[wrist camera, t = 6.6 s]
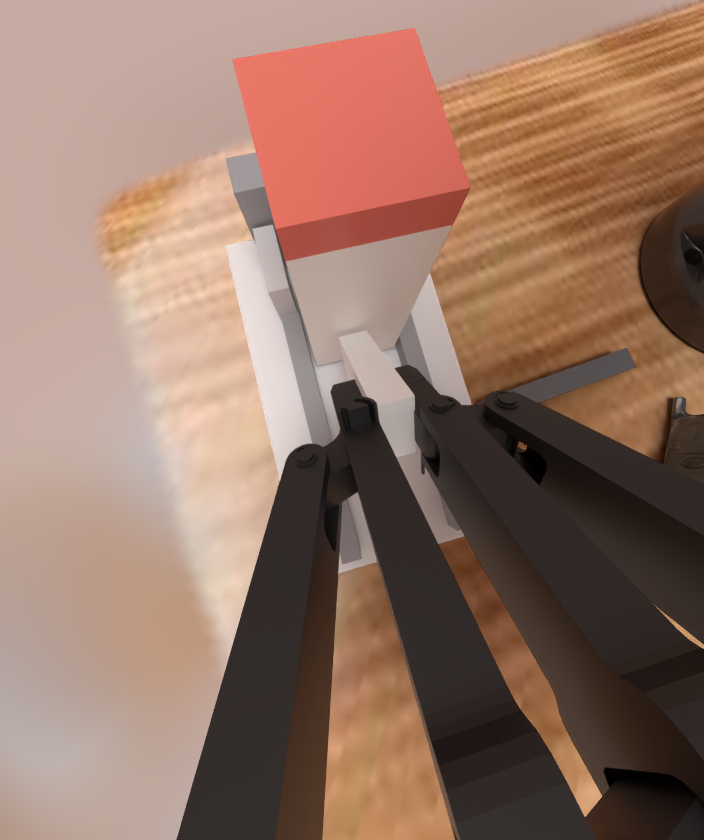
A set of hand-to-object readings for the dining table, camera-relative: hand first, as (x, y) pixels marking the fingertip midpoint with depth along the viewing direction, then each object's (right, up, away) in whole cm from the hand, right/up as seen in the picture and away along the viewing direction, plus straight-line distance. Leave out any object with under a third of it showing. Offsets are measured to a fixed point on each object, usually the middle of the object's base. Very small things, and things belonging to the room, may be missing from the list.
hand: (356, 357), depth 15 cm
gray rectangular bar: (+15, -1, +7) cm, 17 cm away
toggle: (-1, +4, +4) cm, 5 cm away
